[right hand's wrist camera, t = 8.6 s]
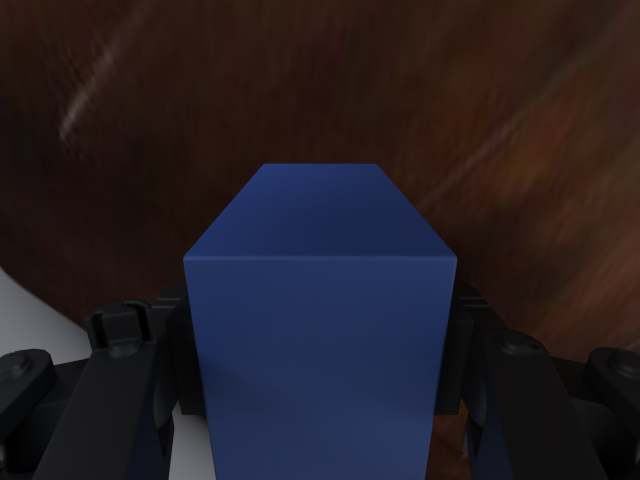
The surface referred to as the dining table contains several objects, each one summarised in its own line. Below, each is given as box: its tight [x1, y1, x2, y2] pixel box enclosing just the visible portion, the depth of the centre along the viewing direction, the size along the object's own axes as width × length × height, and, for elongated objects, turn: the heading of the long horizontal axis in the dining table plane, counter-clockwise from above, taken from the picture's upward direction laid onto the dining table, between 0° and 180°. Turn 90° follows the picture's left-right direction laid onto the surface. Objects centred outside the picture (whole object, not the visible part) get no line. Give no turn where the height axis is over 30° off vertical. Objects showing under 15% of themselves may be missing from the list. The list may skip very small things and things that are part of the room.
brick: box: [183, 164, 457, 480], centre depth 13 cm, size 6×5×11 cm
